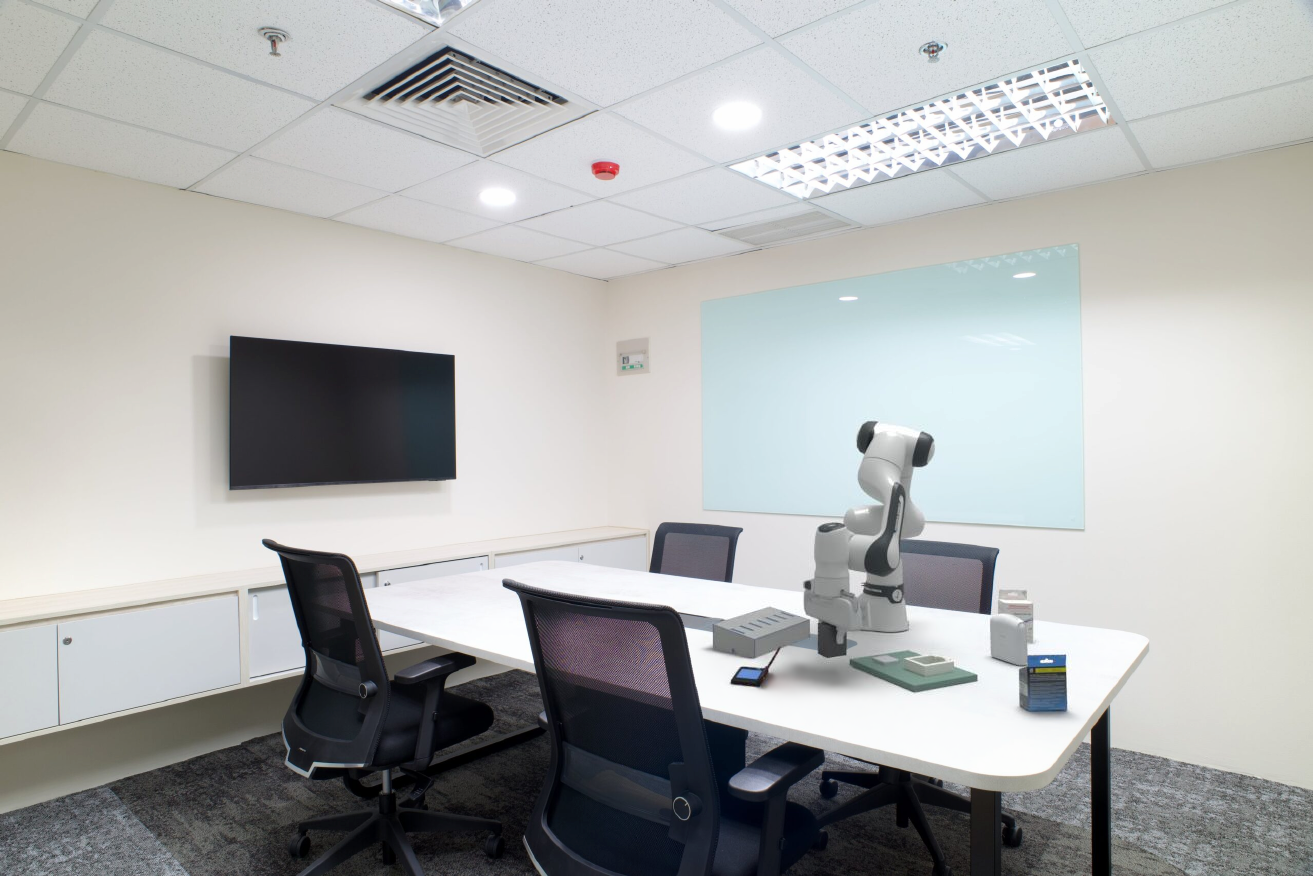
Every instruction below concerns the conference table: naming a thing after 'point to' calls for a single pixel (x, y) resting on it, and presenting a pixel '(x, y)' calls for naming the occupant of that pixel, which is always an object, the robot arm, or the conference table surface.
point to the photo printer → (1008, 639)
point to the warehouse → (759, 632)
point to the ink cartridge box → (1017, 608)
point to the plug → (830, 641)
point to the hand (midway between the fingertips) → (832, 640)
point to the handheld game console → (752, 674)
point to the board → (914, 670)
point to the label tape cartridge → (1043, 683)
